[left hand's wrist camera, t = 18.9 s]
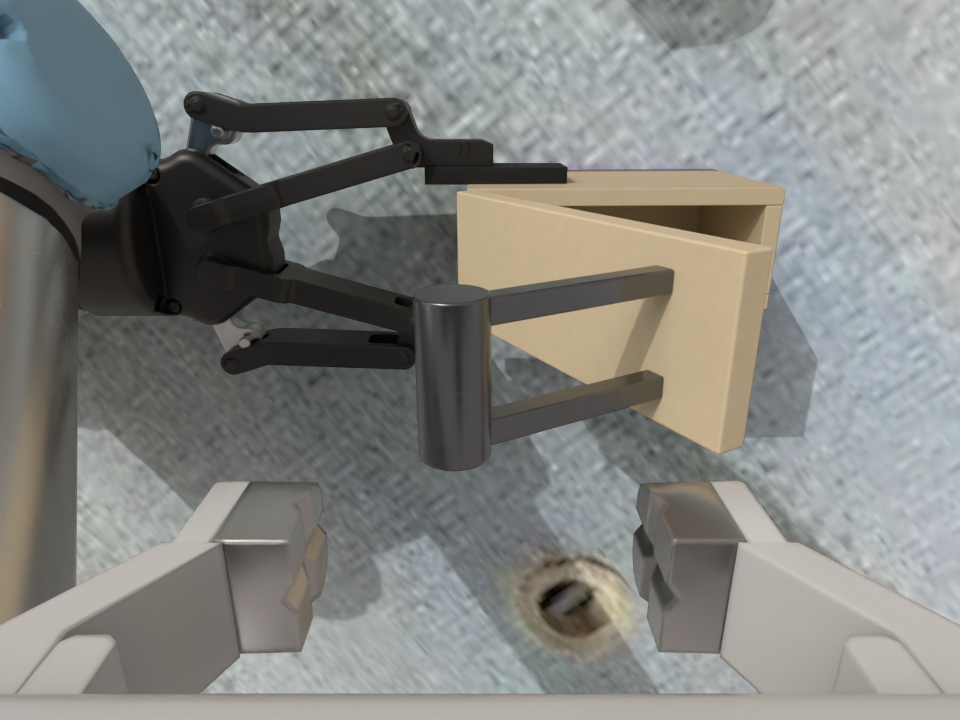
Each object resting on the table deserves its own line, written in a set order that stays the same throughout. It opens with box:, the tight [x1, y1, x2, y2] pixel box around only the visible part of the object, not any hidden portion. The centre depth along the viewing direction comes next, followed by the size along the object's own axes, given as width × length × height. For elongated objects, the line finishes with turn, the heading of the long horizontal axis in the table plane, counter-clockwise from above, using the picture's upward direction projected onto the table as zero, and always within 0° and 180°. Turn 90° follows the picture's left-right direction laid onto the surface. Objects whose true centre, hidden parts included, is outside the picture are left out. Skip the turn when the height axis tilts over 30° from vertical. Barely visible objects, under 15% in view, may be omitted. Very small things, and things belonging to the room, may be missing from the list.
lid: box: [413, 190, 773, 471], centre depth 21 cm, size 15×6×8 cm
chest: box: [467, 169, 786, 310], centre depth 34 cm, size 14×6×10 cm, turn 90°
